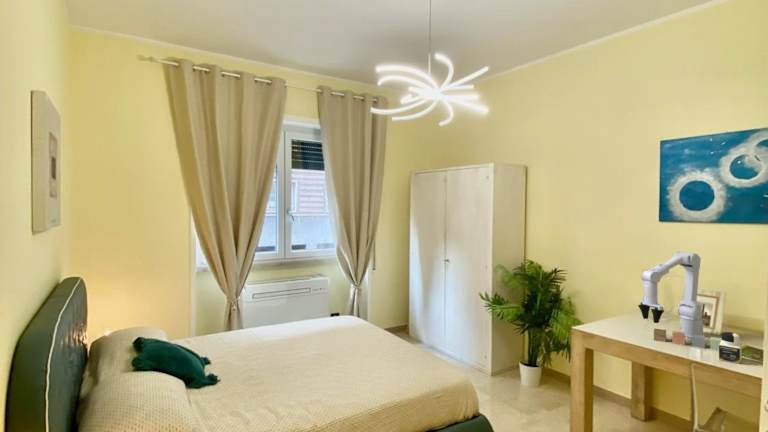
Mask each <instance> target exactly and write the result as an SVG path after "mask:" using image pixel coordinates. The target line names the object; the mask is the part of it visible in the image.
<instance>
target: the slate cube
mask: <svg viewBox="0 0 768 432" xmlns="http://www.w3.org/2000/svg"><path fill="white" fill-rule="evenodd" d="M691 347H695V348H699V349H700V348H701V349H705V348H706V336H705V335H704V334H703V335H697V334H692V338H691Z"/></svg>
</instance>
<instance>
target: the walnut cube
mask: <svg viewBox="0 0 768 432" xmlns="http://www.w3.org/2000/svg"><path fill="white" fill-rule="evenodd" d="M653 341H654V342H655V341H656V342H661V343H662V342H664V343H666V342H667V330H666V329H662V328H653Z"/></svg>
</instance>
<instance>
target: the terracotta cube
mask: <svg viewBox="0 0 768 432" xmlns="http://www.w3.org/2000/svg"><path fill="white" fill-rule="evenodd" d="M671 337H672V338H671V339H672V341H671V343H672V344H675V345H680V344H682V346H685V344H686V336H685V333H683V332H681V331H676V330H673V331H672V336H671Z"/></svg>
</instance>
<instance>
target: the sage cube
mask: <svg viewBox="0 0 768 432" xmlns="http://www.w3.org/2000/svg"><path fill="white" fill-rule="evenodd" d="M709 341H710V342H709V343H710V351H714V352H715V351H717V352H719V344H720V342H721V341H722V337H714V336H710V340H709Z"/></svg>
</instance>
